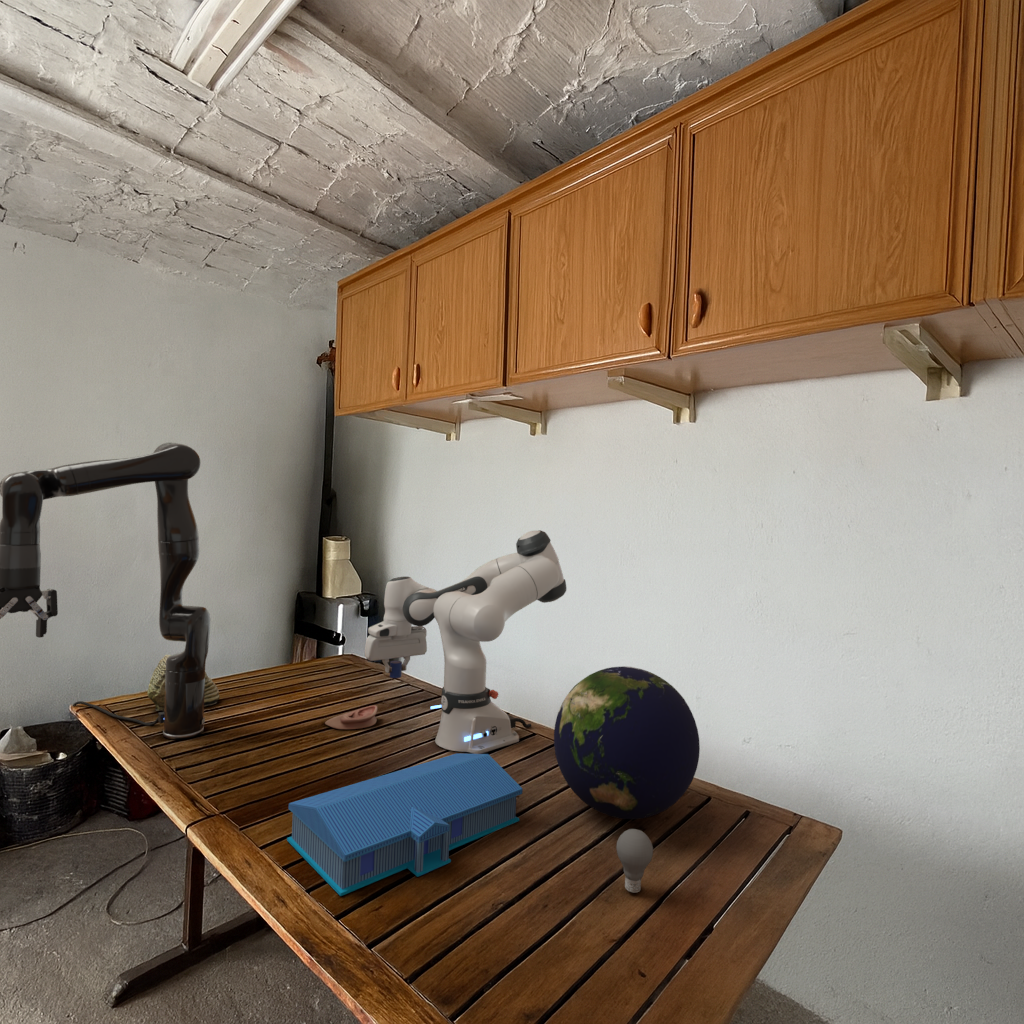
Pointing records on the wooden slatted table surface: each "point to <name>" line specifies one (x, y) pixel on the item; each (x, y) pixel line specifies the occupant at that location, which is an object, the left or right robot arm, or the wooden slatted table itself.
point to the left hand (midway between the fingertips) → (16, 639)
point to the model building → (402, 819)
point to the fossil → (158, 687)
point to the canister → (396, 669)
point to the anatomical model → (354, 719)
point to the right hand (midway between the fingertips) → (395, 671)
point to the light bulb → (634, 857)
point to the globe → (626, 742)
